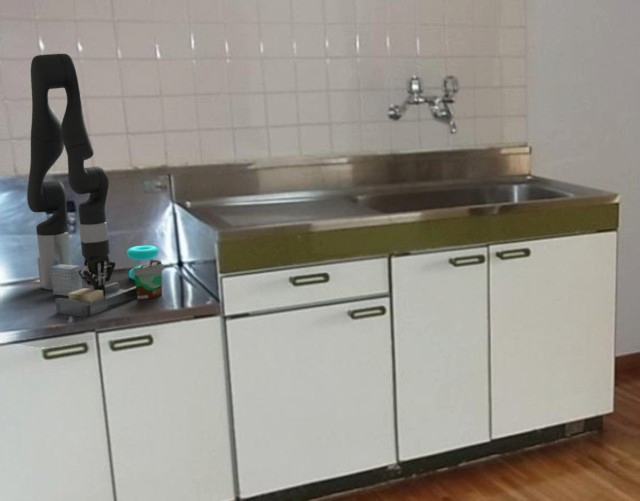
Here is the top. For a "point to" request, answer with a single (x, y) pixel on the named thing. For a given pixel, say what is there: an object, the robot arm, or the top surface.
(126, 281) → the top surface
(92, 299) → the beech block
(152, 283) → the food container
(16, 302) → the top surface
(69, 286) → the medicine box
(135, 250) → the donuts
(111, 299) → the chute
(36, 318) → the top surface
